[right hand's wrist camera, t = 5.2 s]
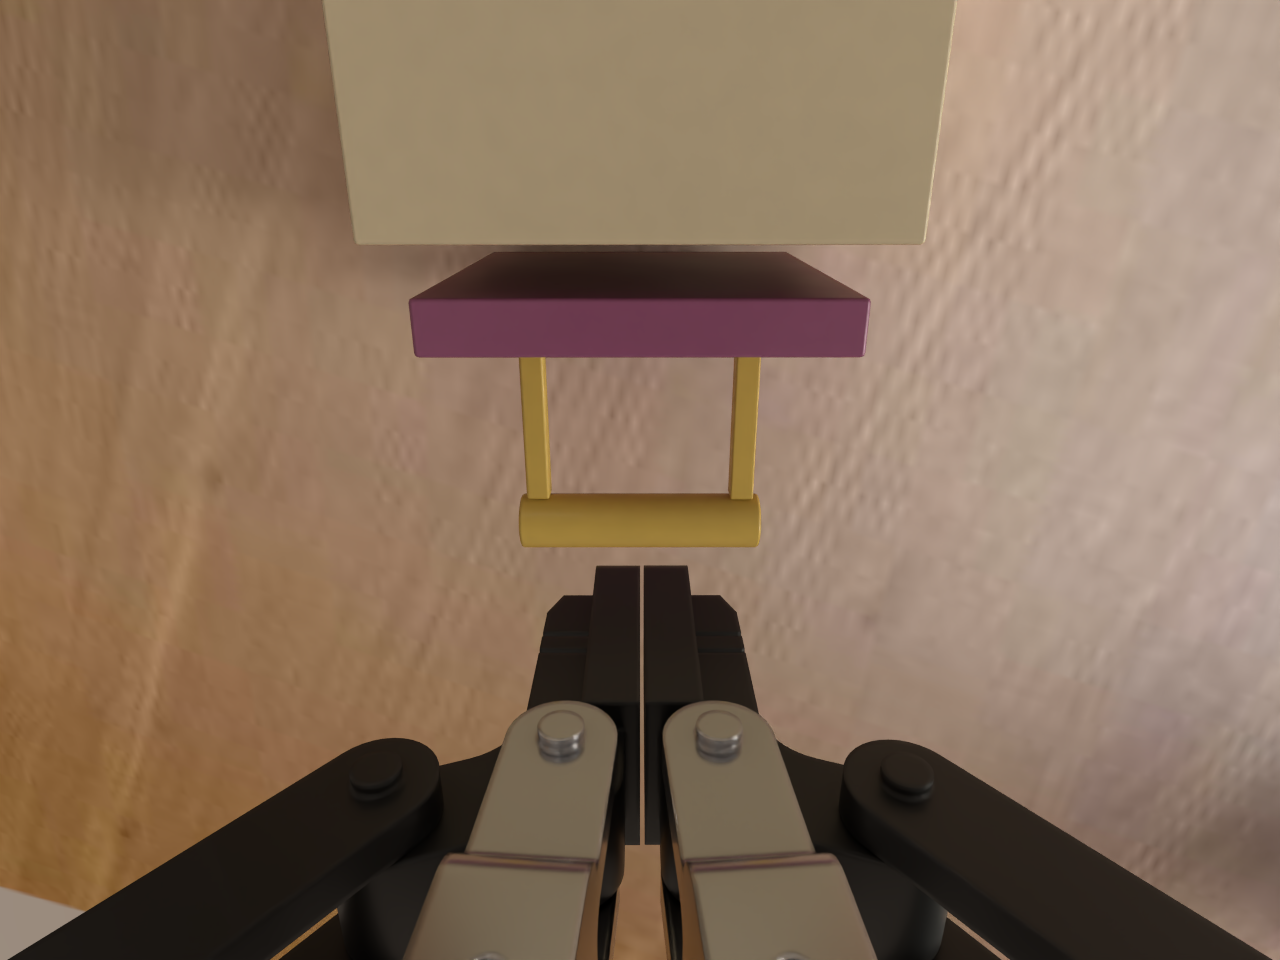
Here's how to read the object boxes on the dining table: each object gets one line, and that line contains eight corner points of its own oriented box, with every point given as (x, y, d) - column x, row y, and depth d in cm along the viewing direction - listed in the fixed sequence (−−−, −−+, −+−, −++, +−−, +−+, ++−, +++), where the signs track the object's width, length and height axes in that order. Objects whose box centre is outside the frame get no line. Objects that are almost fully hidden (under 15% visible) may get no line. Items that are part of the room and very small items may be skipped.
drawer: (772, 468, 27) (837, 613, 18) (507, 468, 27) (442, 613, 18) (848, -624, 17) (1068, -1465, 8) (430, -624, 17) (209, -1461, 8)
